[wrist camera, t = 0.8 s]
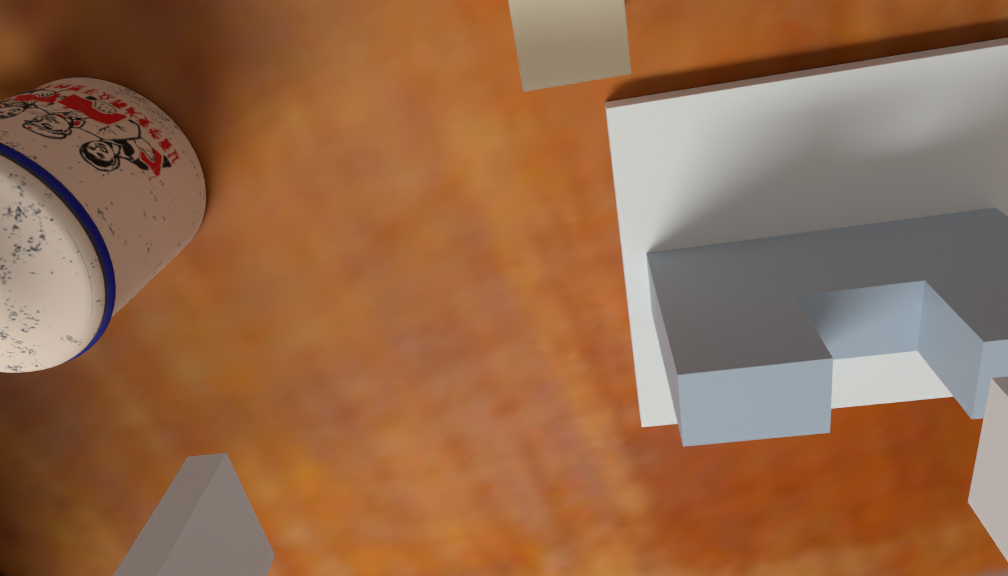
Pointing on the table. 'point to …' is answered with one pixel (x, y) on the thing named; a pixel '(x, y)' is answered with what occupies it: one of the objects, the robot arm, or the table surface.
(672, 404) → the slotted stand
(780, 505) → the table surface
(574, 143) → the table surface
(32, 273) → the teacup with lid
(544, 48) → the beige arch-shaped block
